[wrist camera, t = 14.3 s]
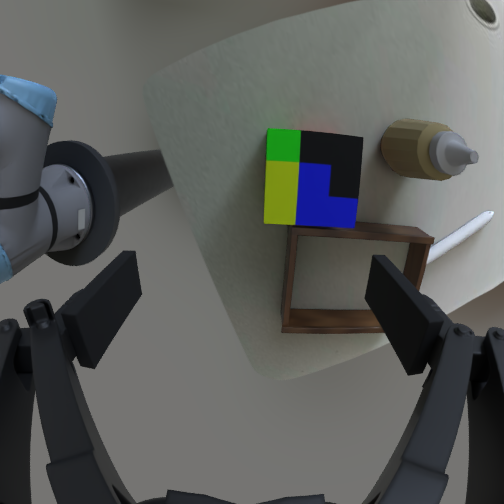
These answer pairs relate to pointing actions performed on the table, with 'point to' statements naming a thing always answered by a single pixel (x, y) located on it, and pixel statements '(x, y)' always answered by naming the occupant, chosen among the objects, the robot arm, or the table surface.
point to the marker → (459, 235)
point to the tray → (349, 319)
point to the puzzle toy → (312, 178)
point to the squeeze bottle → (425, 150)
